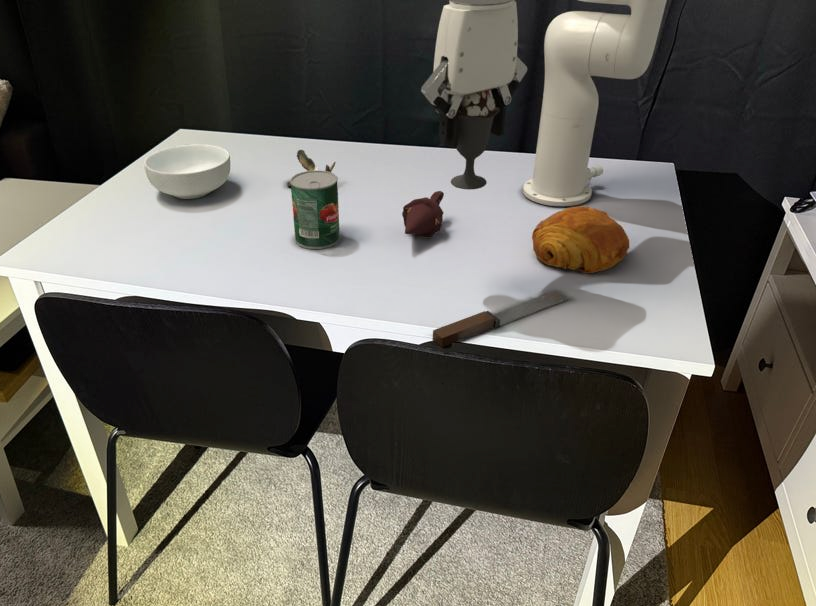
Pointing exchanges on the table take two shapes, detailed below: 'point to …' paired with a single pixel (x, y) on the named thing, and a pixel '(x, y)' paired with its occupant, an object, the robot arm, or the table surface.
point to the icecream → (423, 216)
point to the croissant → (580, 240)
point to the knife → (493, 319)
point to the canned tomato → (315, 209)
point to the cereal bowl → (188, 170)
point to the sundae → (474, 135)
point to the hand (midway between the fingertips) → (471, 137)
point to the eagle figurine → (309, 163)
